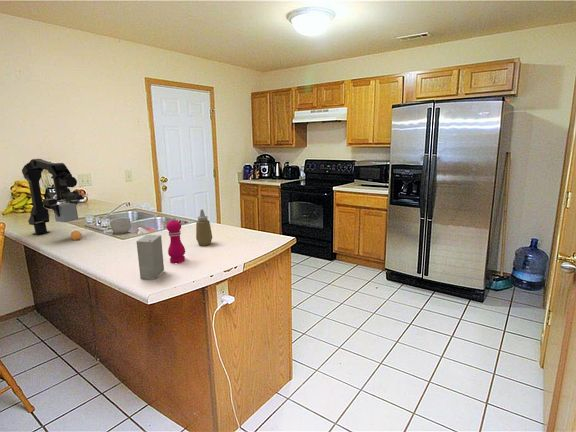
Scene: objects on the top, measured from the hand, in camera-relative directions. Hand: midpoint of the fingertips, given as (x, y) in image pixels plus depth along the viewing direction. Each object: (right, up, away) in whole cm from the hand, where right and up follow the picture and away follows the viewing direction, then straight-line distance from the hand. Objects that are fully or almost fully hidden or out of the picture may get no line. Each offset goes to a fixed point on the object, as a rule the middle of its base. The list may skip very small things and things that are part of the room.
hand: (66, 215), depth 186 cm
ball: (+5, -11, 0) cm, 12 cm away
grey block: (0, -3, +1) cm, 3 cm away
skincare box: (+68, -24, -51) cm, 88 cm away
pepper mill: (+73, -21, -36) cm, 84 cm away
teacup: (+24, -10, +15) cm, 30 cm away
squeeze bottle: (+79, -15, -13) cm, 82 cm away
